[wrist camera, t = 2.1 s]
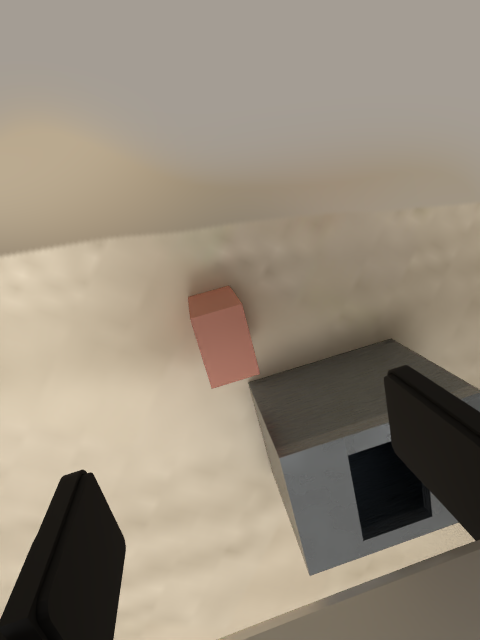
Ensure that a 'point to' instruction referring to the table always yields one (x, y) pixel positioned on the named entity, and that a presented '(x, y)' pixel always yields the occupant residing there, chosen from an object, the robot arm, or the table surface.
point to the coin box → (347, 454)
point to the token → (223, 336)
